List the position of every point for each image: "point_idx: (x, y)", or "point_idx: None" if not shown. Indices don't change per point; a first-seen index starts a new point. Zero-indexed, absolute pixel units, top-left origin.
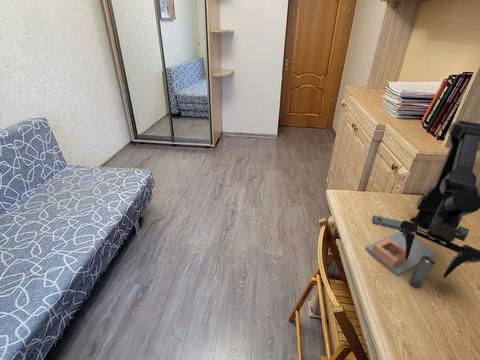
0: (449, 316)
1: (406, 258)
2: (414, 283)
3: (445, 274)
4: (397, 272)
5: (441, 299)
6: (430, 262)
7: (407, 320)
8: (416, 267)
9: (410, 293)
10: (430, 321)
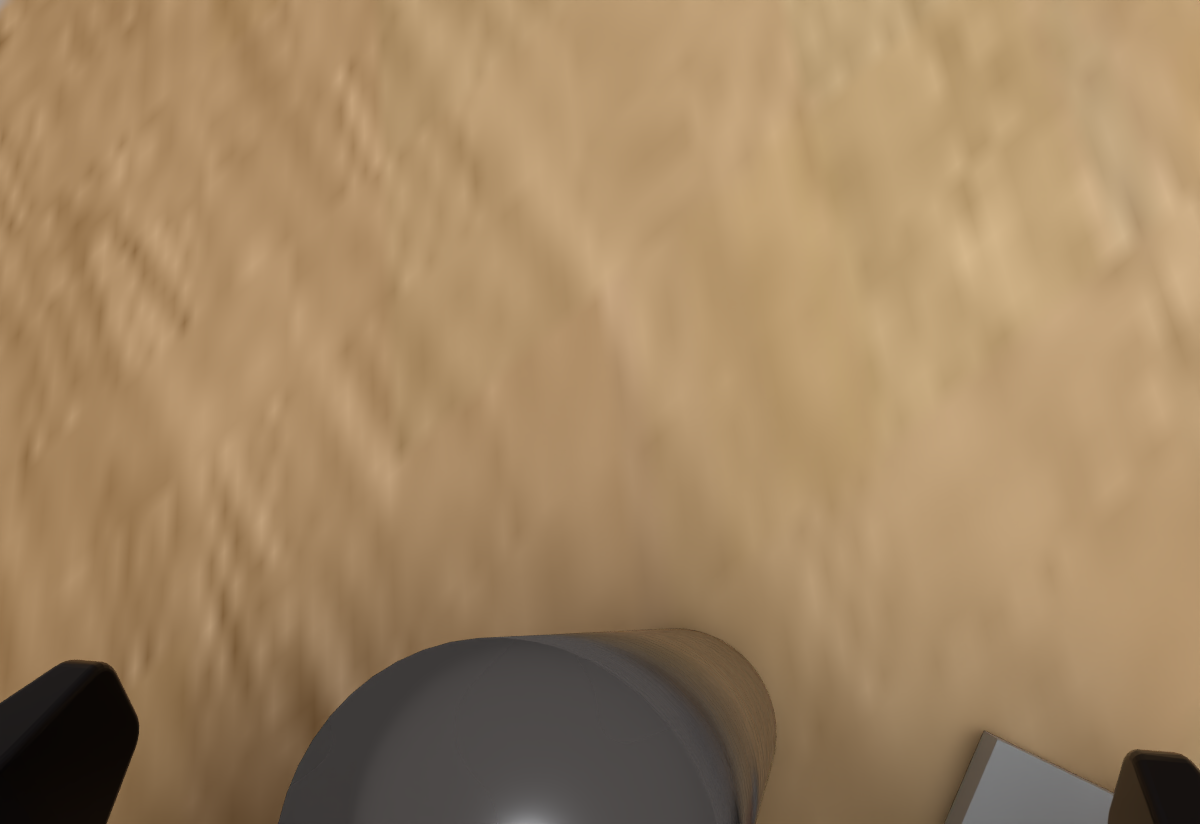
0: (176, 392)
1: (1160, 759)
2: (683, 631)
3: (37, 715)
4: (1029, 754)
5: (268, 660)
6: (413, 785)
7: None
8: (756, 792)
9: (699, 446)
10: (394, 122)
